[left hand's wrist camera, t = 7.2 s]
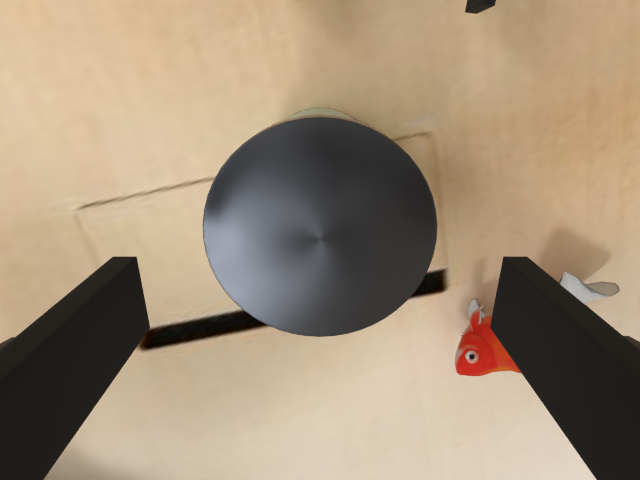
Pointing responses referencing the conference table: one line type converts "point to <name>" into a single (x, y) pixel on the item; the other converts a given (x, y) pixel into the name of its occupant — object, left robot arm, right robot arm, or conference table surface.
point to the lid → (320, 226)
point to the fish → (484, 347)
